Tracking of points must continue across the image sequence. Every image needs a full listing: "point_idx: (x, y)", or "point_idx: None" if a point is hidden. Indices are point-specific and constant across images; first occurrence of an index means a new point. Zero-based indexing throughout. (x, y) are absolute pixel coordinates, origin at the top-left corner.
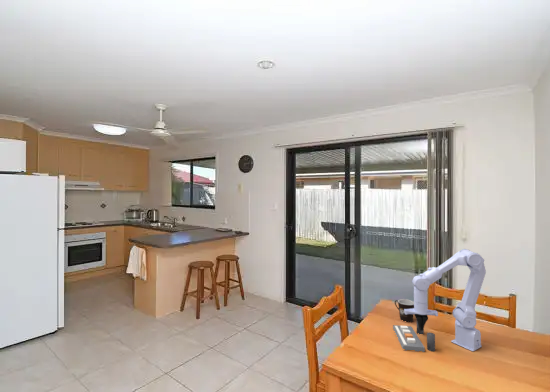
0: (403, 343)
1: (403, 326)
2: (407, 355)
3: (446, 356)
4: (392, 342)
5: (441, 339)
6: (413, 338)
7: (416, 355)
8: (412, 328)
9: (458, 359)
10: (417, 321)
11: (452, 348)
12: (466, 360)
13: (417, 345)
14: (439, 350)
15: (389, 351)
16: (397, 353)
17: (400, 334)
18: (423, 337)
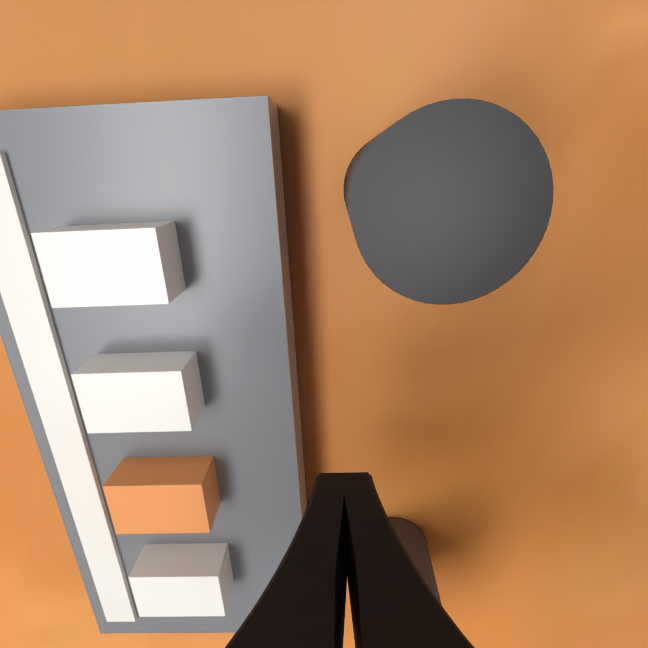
0: (103, 600)
1: (89, 260)
2: (153, 644)
3: (485, 617)
4: (16, 485)
5: (623, 324)
6: (207, 584)
7: (227, 636)
8: (271, 189)
9: (567, 639)
10: (280, 590)
11: (630, 496)
12: (629, 642)
13: (245, 611)
14: (467, 546)
15: (5, 618)
16: (73, 632)
17: (66, 436)
18: (397, 314)
